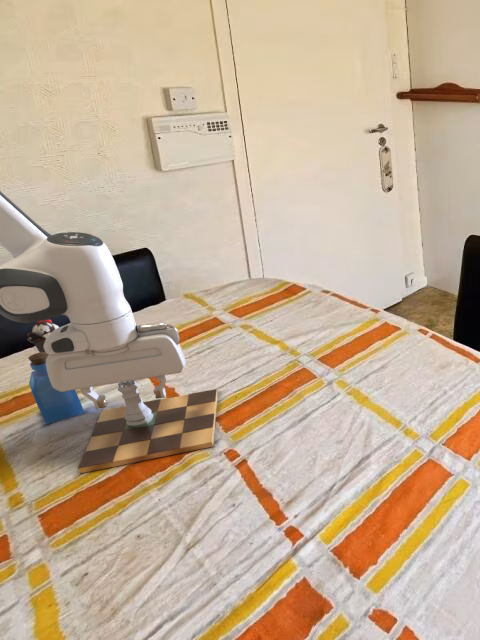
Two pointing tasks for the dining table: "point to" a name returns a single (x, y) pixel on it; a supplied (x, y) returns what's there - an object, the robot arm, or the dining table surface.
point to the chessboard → (152, 432)
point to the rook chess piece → (134, 405)
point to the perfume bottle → (51, 393)
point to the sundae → (41, 333)
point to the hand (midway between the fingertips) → (132, 401)
